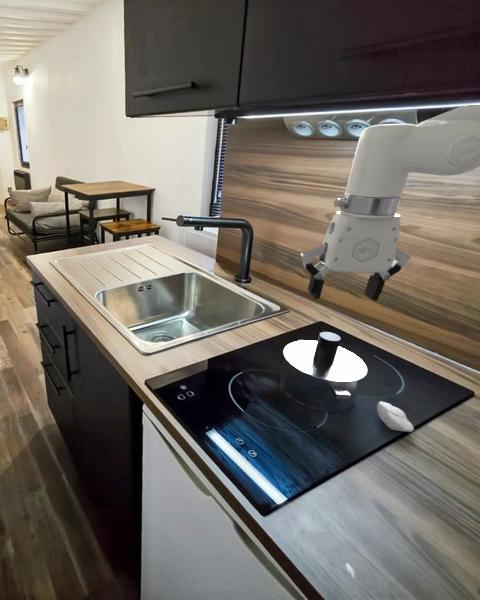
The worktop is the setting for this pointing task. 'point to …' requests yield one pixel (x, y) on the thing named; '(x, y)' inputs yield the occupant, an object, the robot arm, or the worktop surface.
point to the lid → (325, 360)
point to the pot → (317, 391)
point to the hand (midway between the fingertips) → (341, 296)
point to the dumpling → (393, 417)
